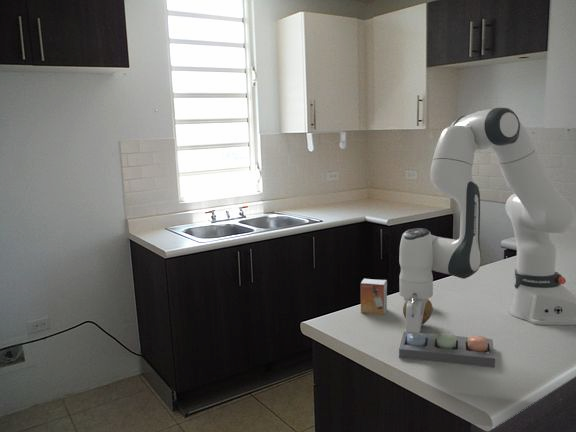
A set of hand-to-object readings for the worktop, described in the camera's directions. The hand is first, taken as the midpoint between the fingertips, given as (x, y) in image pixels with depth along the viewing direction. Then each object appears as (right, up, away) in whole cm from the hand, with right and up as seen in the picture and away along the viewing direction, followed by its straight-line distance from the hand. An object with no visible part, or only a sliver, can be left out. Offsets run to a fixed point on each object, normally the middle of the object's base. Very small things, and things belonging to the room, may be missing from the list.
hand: (415, 336), depth 140 cm
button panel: (+8, -4, -2) cm, 9 cm away
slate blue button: (0, -3, 0) cm, 3 cm away
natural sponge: (+5, -1, +17) cm, 18 cm away
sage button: (+8, -2, -2) cm, 8 cm away
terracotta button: (+15, -2, -5) cm, 16 cm away
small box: (-6, +1, +31) cm, 32 cm away
